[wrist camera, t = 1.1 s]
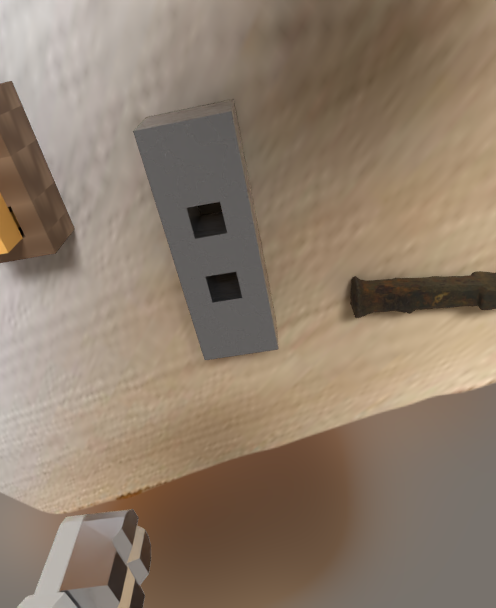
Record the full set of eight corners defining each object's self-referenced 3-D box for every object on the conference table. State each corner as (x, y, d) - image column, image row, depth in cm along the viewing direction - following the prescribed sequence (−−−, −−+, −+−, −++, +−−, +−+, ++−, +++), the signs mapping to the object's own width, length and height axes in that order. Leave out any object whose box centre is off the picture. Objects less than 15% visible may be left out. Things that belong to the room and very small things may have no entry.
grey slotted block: (146, 117, 41) (133, 131, 37) (233, 99, 40) (231, 111, 36) (208, 329, 54) (204, 360, 50) (275, 319, 53) (278, 349, 49)
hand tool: (346, 302, 52) (354, 327, 48) (349, 272, 50) (358, 294, 46) (514, 297, 52) (536, 321, 48) (525, 266, 50) (548, 288, 46)
